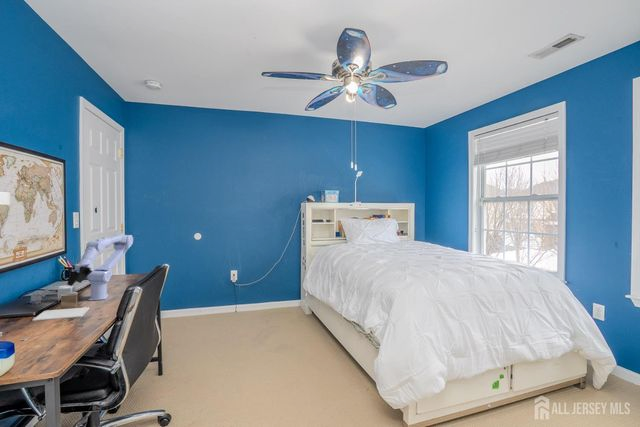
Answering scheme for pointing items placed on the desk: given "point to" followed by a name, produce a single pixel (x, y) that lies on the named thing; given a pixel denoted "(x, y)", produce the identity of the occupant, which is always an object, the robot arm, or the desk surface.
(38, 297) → the lighter
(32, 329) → the desk surface
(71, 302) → the brown wooden block
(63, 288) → the skincare box
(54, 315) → the mat
